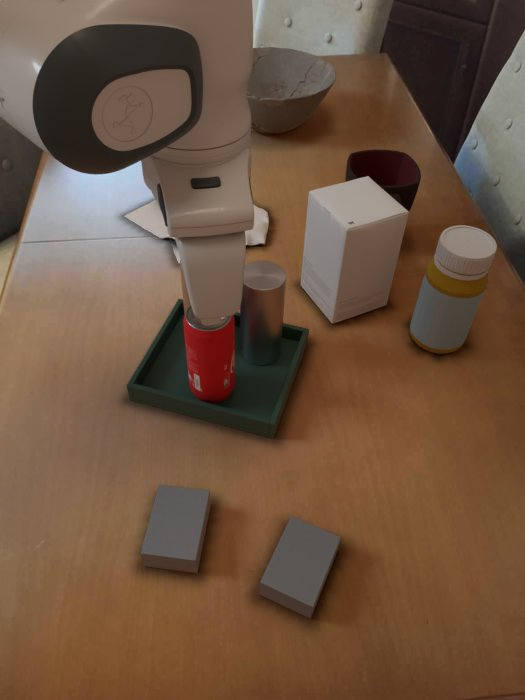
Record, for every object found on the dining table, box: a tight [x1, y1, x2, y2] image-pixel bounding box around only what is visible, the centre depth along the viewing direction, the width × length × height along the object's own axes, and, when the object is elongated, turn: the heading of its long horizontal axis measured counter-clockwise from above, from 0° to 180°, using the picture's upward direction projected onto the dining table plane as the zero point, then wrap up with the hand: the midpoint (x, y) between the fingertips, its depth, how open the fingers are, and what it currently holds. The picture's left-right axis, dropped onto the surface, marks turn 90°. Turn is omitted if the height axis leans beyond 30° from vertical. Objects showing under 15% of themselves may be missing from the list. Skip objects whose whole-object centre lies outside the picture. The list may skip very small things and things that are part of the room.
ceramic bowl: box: [247, 46, 337, 134], centre depth 111 cm, size 22×23×10 cm
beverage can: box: [183, 305, 235, 404], centre depth 65 cm, size 5×5×12 cm
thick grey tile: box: [140, 484, 212, 574], centre depth 56 cm, size 5×7×3 cm
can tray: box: [126, 298, 310, 439], centre depth 71 cm, size 17×15×3 cm
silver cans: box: [179, 259, 287, 365], centre depth 70 cm, size 12×5×12 cm, turn 73°
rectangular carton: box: [300, 176, 410, 325], centre depth 76 cm, size 9×9×15 cm
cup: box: [344, 148, 422, 213], centre depth 85 cm, size 10×14×12 cm
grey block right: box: [258, 515, 342, 619], centre depth 54 cm, size 5×7×3 cm
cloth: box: [124, 198, 270, 265], centre depth 92 cm, size 20×22×2 cm
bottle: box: [409, 224, 498, 355], centre depth 71 cm, size 7×7×15 cm
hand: (203, 286), depth 58 cm, fingers open, 8 cm apart
